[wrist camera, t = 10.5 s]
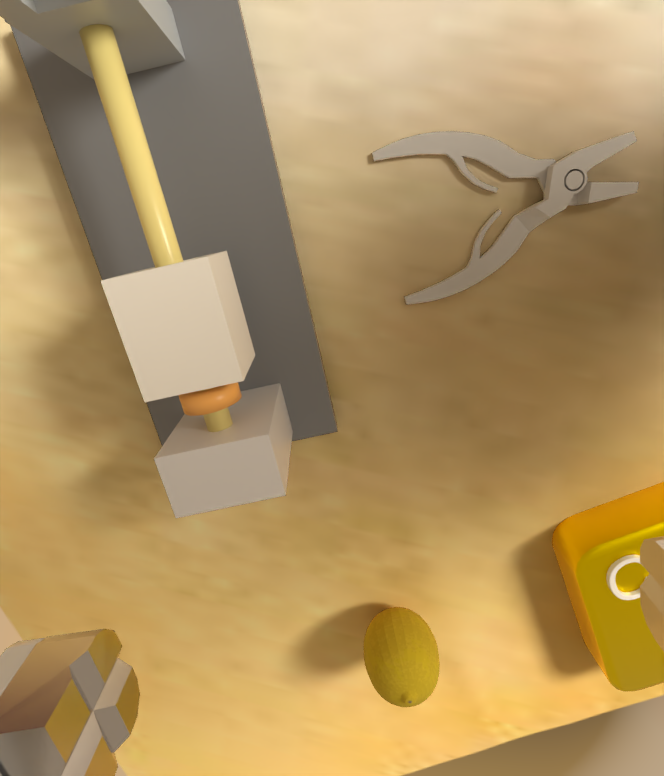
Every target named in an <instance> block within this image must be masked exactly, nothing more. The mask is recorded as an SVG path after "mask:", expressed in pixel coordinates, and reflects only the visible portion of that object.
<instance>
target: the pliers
mask: <svg viewBox="0 0 664 776" xmlns="http://www.w3.org/2000/svg"><path fill="white" fill-rule="evenodd" d="M636 141H637V139H636V136H635V133H634V131H632V132H629V133H626V134H622V135H619V136H616V137H613V138H611V139H608V140H605V141H602V142H599V143H597V144H594V145H591V146H588V147H585V148H582V149H580V150H577V151H574V152H571V153H570V154H569V155H567V156H565V157H564V158H562V159H560V160H559V161H557V162H556V161H555V160H554V159H534V158H531V157H528V156H526V155H523V154H520V153H518V152H516V151H515V150H513V149H512V148H510V147H509V146H507V145H506V144H504V143H503V142H501V141H499V140H496V139H494V138H491V137H488V136H485V135H480V134H475V133H469V132H455V131H445V132H431V133H425V134H419V135H415V136H411V137H407V138H403V139H401V140H398V141H396V142H394V143H391V144H389V145H386V146H384V147H382V148H380V149H378V150H376V151H374V152H372V157H373V161H379V160H384V159H389V158H397V157H404V156H412V155H446V156H447V157H449V158H450V159H451V160H452V161H453V162H454V164H455V165H456V167H457V168H458V170H459V171H460V173H461V174H462V175H463V176H464V177H465V178H466V179H467V180H469V181H470V182H471V183H472V184H474V185H476V186H478V187H480V188H482V189H485V190H488V191H491V192H494V193H497V190H498V188H496V187H493V186H491V185H488V184H486V183H484V182H482V181H480V180H478V179H477V178H476V177H475V176H474V175H473V174H472V173H471V172H470V171H469V170H468V169H467V167H466V164H465V162H464V159H463V157H466V158H470V159H474V160H476V161H478V162H480V163H482V164H484V165H486V166H488V167H490V168H491V169H493V170H495V171H496V172H498V173H500V174H502V175H503V176H505V177H507V178H537V180H538V182H539V185H540V187H541V189H542V191H543V193H544V198H543V200H542V201H540V202H538V203H535V204H533V205H531V206H529V207H527V208H526V209H524V210H522V211H521V212H519V213H517V214H516V215H514V216H513V217H512V218H511V220H510V221H509V223H508V224H507V226H506V227H505V228H504V230H503V231H502V233H501V234H500V235H499V237H498V238H497V239H496V241H495V242H494V243H493V245H492V246H491V247H490V248H489V250H487V251H486V252H485V253H484V254H483V255H482V256H480V245H481V243H482V240H483V238H484V235H485V233H486V231H487V230H488V229H489V227H490V226H491V224H492V223H493V222H494V221H495V220H496V219H497V218H498V216H499V215H500V214H501V213H502V212H501V211H500V210H497V211H496V212H495V213H494V214H493V215H492V216H491V217H490V218H489V219H488V220H487V222H486V223H485V224H484V225H483V227H482V228H481V229H480V231H479V233H478V235H477V237H476V239H475V242H474V244H473V248H472V252H471V257H470V260H469V262H468V264H467V266H466V267H465V268H463V269H462V270H460V271H459V272H457V273H455V274H454V275H452V276H450V277H448V278H446V279H445V280H443V281H441V282H438V283H436V284H434V285H432V286H430V287H427V288H425V289H423V290H420V291H418V292H415V293H413V294H410V295H407V296H405V297H404V298H405V303H406V304H416V303H423V302H429V301H435V300H438V299H442V298H445V297H448V296H451V295H454V294H456V293H459V292H461V291H463V290H466V289H467V288H469V287H471V286H473V285H475V284H477V283H478V282H480V281H482V280H483V279H485V278H486V277H488V276H489V275H491V274H492V273H494V272H495V271H496V270H497V269H499V268H500V267H501V266H502V265H504V264H505V263H506V262H507V261H508V260H509V259H510V258H511V257H512V256H513V255H514V254H515V253H516V252H517V250H518V249H519V247H520V246H521V244H522V243H523V241H524V240H525V238H526V237H527V235H528V234H529V232H531V231H532V230H533V229H535V228H536V227H538V226H539V225H540V224H542V223H543V222H545V221H546V220H548V219H549V218H550V217H552V216H554V215H556V214H557V213H559V212H561V211H563V210H565V209H566V208H567V206H568V205H582V204H589V203H593V202H598V201H602V200H607V199H611V198H616V197H620V196H624V195H629V194H633V193H637V190H638V184H639V182H587V179H588V177H587V172H588V171H589V170H590V169H591V168H592V167H594V166H596V165H597V164H599V163H601V162H602V161H604V160H606V159H607V158H609V157H611V156H613V155H614V154H616V153H618V152H619V151H621V150H623V149H624V148H626V147H628V146H630V145H631V144H633V143H635V142H636Z"/></svg>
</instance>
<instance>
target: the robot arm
mask: <svg viewBox="0 0 664 776" xmlns="http://www.w3.org/2000/svg"><path fill="white" fill-rule="evenodd" d="M640 563H641V564H642V565H643V566H644V567H645V569H646V570H647V571H648V572H649V573H650V574H649V575H648V577H647V578H646V579H645V580H644V582H643V583H642V584H641V586H640V603H641V608H642V611H643V614H644V617H645V620H646V624H647V626H648V628H649V629H650V631H651V633H652V635H653V637H654V639H655V640H656V642H657V643H658V644H659V646H660V647H661V649H662V650H663V651H664V536H662V537H656V538H650V539H644V541H643V543H642V545H641V547H640ZM121 648H122V644H121V643H120V641H119V639H118V637H117V635H116V633H115V631H114V630H109V629H99V630H92V631H85V632H78V633H71V634H63V635H56V636H49V637H46V638H40V639H33V640H25V641H18V642H16V643H14V644H13V645H11V646H9V647H8V648H6V649H5V651H4V652H3V653H2V655H1V656H0V776H115V773H116V770H117V768H118V765H117V761H116V757H115V753H114V752H115V751H116V750H117V749H118V748H119V747H120V745H121V744H122V743H123V742H124V741H125V740H126V739H127V738H128V737H129V736H130V734H131V732H132V729H133V726H134V723H135V721H136V718H137V714H138V705H139V696H140V693H139V686H138V680H137V677H136V675H135V673H134V670H133V668H132V667H131V666H130V665H128V664H127V663H125V662H123V661H122V660H120V659H119V658H118V657H119V654H120V651H121Z"/></svg>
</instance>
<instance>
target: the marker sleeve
mask: <svg viewBox="0 0 664 776" xmlns="http://www.w3.org/2000/svg"><path fill="white" fill-rule="evenodd" d="M101 284H102V286H103V289H104V292H105V295H106V298H107V300H108V303H109V306H110V309H111V311H112V314H113V317H114V320H115V322H116V325H117V328H118V331H119V333H120V336H121V339H122V342H123V344H124V347H125V350H126V353H127V355H128V358H129V361H130V364H131V367H132V369H133V372H134V375H135V378H136V380H137V383H138V386H139V389H140V391H141V394H142V397H143V400H144V402H149V401H154V400H158V399H163V398H167V397H172V396H177V395H181V394H186V393H190V392H195V391H200V390H204V389H209V388H213V387H218V386H223V385H227V384H232V383H237V382H241V381H244V379H245V377H246V374H247V372H248V370H249V368H250V366H251V364H252V361H253V359H254V357H255V352H254V348H253V344H252V341H251V337H250V334H249V330H248V326H247V323H246V319H245V315H244V312H243V308H242V304H241V301H240V297H239V294H238V290H237V286H236V283H235V279H234V275H233V272H232V268H231V264H230V261H229V257H228V254H227V251H223V252H218V253H214V254H210V255H205V256H201V257H196V258H192V259H188V260H183V262H179V263H175V264H170V265H166V266H161V267H157V268H155V267H152V268H148V269H144V270H139V271H135V272H132V273H128V274H124V275H120V276H116V277H113V278H109V279H105V280H101Z"/></svg>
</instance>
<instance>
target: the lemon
mask: <svg viewBox="0 0 664 776" xmlns="http://www.w3.org/2000/svg"><path fill="white" fill-rule="evenodd" d="M364 661H365V666H366V669H367V672H368V675H369V677H370V680H371V682H372V684H373V686H374V688H375V689H376V691H377V692H378V693H379V694H380V696H381V697H382V698H384V699H385V700H386V701H388V702H389V703H391V704H394V705H396V706H400V707H412V706H416V705H418V704H420V703H422V702H423V701H425V700H426V699H427V698H428V697H429V696H430V695H431V694H432V692H433V691H434V689H435V687H436V684H437V681H438V675H439V654H438V648H437V643H436V640H435V638H434V636H433V634H432V632H431V630H430V628H429V626H428V625H427V623H426V622H425V621H424V620H423V619H422V618H421V617H420V616H419V615H418V614H416V613H415V612H413V611H411V610H409V609H406V608H400V607H394V608H389V609H386V610H384V611H382V612H380V613H379V614H378V615H377V616H375V617H374V618H373V620H372V621H371V623H370V624H369V626H368V628H367V631H366V634H365V638H364Z"/></svg>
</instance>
